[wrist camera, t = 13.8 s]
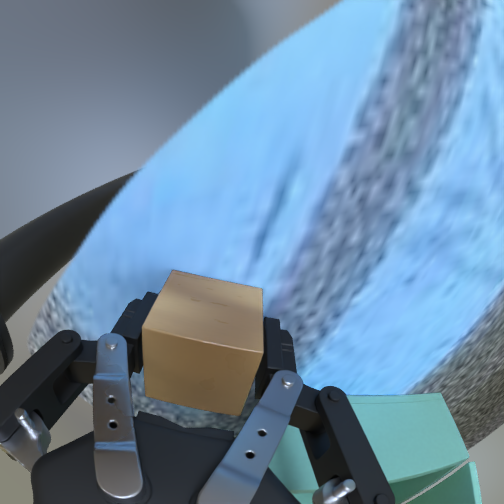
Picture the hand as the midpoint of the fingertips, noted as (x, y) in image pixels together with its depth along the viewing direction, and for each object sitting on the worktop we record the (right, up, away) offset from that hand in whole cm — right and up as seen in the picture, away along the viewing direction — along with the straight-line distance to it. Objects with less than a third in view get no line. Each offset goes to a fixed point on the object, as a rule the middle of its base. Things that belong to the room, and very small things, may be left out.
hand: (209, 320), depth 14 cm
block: (0, 0, 0) cm, 0 cm away
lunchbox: (+9, -12, +6) cm, 16 cm away
